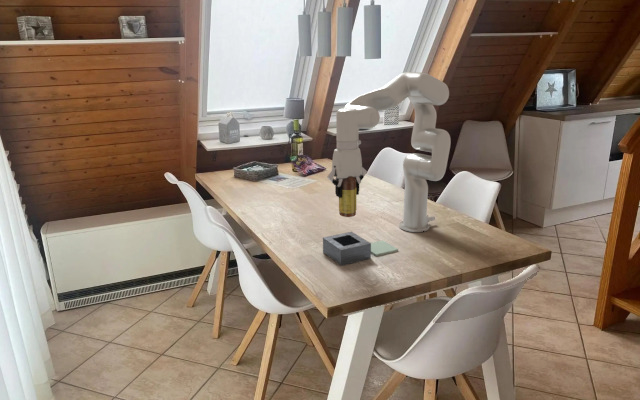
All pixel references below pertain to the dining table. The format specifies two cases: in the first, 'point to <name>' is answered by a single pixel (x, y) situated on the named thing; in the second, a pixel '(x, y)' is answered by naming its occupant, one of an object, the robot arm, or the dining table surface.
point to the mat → (382, 248)
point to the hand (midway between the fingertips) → (347, 194)
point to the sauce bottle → (348, 197)
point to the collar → (346, 248)
